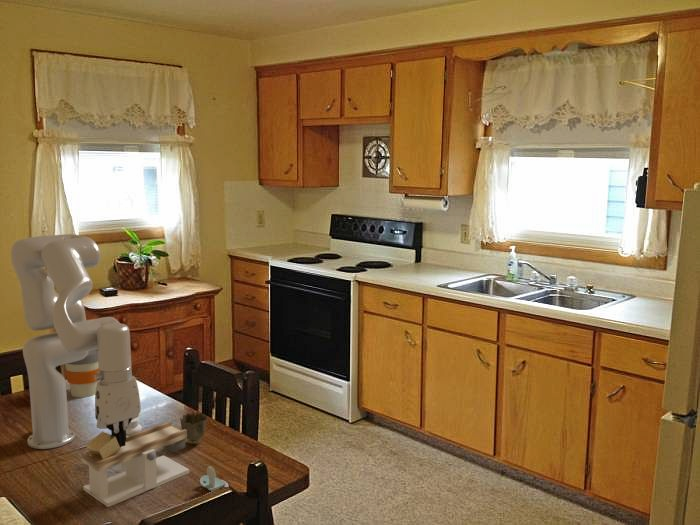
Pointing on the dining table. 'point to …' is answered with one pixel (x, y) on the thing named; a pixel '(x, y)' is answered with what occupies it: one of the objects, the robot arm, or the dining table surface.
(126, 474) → the beam stand
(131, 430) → the supplement bottle
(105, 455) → the slider weight
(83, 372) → the reusable coffee cup
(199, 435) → the cup
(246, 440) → the dining table surface
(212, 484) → the pacifier
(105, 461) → the balance beam
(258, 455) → the dining table surface
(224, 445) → the dining table surface
